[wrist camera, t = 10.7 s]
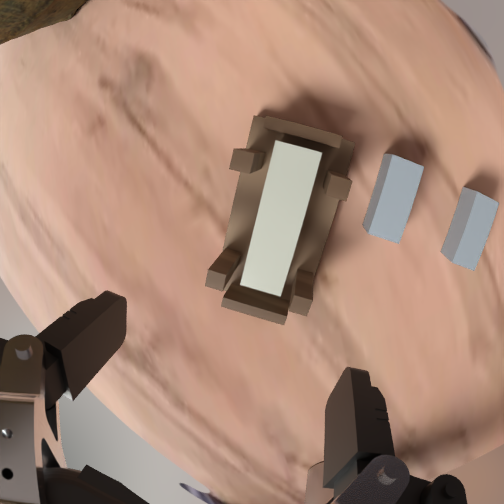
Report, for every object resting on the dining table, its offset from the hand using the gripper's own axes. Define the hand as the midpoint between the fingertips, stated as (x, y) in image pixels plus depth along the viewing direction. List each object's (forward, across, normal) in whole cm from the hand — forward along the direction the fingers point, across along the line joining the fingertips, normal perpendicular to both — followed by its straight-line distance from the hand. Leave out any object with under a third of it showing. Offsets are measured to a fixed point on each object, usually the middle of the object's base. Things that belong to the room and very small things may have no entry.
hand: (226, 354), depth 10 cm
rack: (+20, 0, 0) cm, 20 cm away
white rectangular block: (+19, 0, -1) cm, 19 cm away
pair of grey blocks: (+20, -14, -5) cm, 25 cm away
